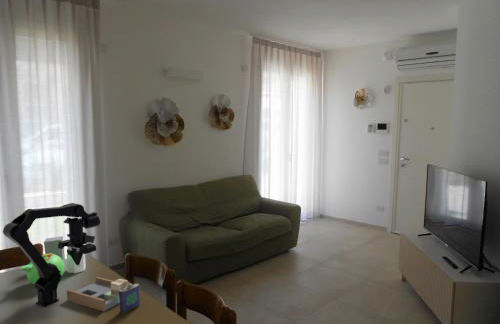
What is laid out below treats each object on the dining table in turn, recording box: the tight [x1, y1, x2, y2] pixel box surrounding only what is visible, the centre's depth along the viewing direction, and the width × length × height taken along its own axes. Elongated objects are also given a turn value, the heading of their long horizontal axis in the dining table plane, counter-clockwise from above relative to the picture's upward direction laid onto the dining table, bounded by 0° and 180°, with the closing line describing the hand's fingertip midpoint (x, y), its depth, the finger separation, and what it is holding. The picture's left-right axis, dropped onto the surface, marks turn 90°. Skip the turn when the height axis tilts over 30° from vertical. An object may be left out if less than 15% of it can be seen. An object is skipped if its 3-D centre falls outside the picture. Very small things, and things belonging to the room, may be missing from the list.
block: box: [111, 278, 129, 296], centre depth 160 cm, size 5×5×5 cm
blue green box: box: [119, 282, 141, 314], centre depth 151 cm, size 9×3×11 cm, turn 144°
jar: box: [66, 247, 87, 274], centre depth 192 cm, size 9×8×12 cm
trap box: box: [66, 276, 120, 312], centre depth 161 cm, size 16×22×4 cm
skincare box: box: [43, 236, 66, 266], centre depth 197 cm, size 8×7×16 cm
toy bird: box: [19, 253, 65, 286], centre depth 176 cm, size 18×17×15 cm
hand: (77, 264), depth 168 cm, fingers closed
